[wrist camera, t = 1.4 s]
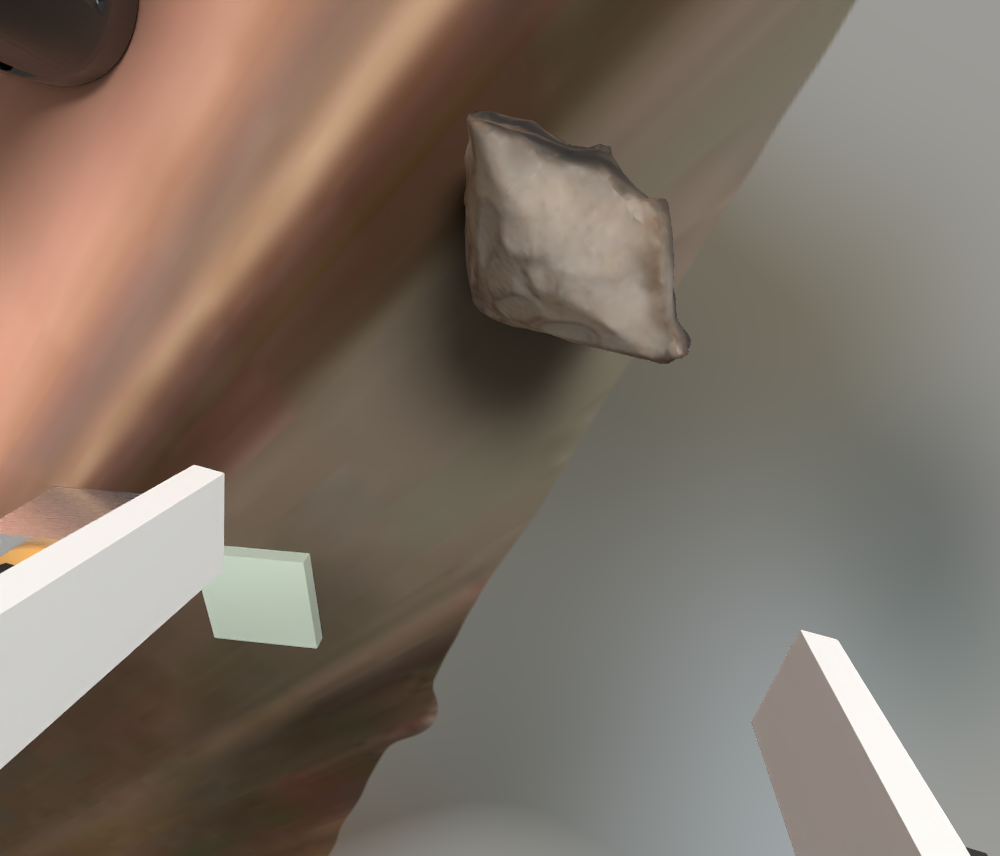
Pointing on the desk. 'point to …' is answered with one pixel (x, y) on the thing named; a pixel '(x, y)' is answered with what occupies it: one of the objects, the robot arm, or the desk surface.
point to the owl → (567, 242)
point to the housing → (57, 515)
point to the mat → (264, 598)
